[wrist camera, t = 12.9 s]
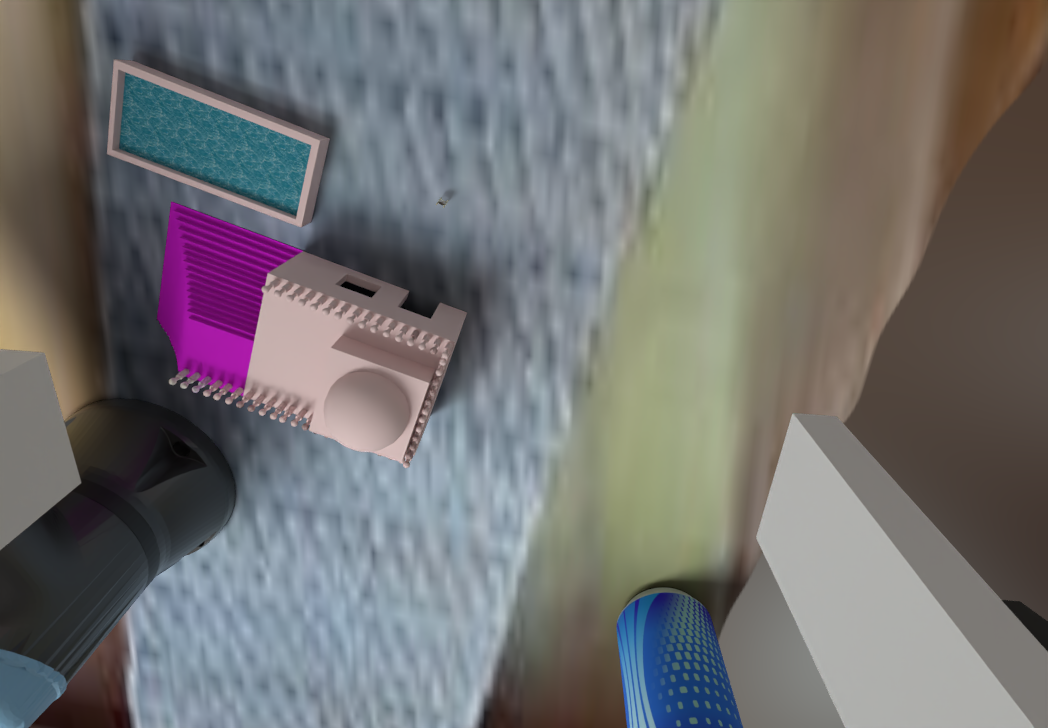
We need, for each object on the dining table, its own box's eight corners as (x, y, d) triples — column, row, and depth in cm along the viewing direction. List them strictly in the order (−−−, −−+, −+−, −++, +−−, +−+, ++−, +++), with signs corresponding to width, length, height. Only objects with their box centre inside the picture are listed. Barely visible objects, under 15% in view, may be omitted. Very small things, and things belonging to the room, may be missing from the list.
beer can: (727, 602, 54) (790, 793, 39) (675, 659, 57) (716, 855, 42) (646, 567, 52) (680, 749, 38) (598, 627, 56) (612, 817, 41)
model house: (505, 206, 40) (488, 243, 31) (430, 413, 47) (397, 497, 38) (136, 61, 38) (-11, 50, 28) (115, 302, 45) (-9, 361, 35)
